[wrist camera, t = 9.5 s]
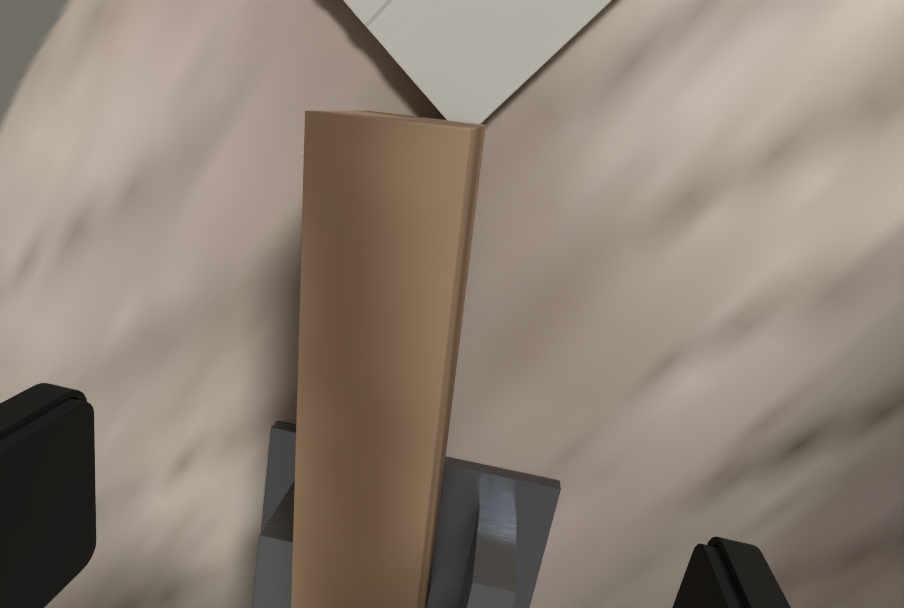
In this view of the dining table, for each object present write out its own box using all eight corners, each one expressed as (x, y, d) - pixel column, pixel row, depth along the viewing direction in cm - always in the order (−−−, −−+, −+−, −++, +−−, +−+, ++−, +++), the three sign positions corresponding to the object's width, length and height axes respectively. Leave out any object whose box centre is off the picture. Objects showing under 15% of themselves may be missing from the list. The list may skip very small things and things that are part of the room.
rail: (485, 124, 20) (471, 130, 14) (427, 600, 26) (401, 737, 20) (367, 110, 20) (305, 110, 14) (338, 585, 26) (288, 715, 21)
